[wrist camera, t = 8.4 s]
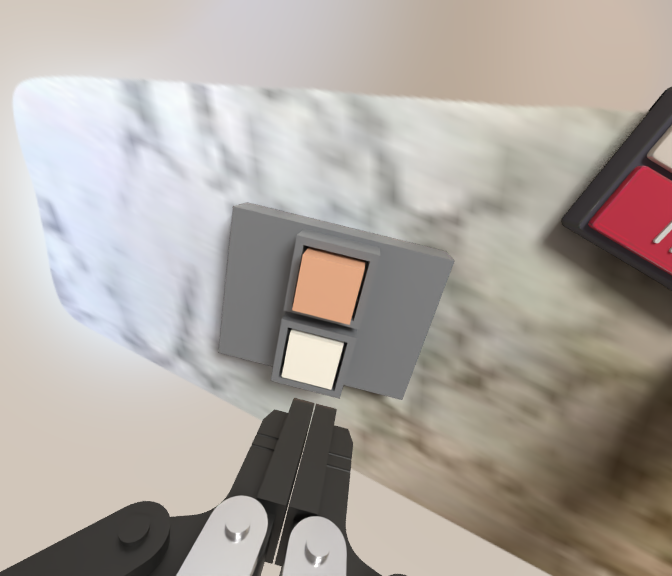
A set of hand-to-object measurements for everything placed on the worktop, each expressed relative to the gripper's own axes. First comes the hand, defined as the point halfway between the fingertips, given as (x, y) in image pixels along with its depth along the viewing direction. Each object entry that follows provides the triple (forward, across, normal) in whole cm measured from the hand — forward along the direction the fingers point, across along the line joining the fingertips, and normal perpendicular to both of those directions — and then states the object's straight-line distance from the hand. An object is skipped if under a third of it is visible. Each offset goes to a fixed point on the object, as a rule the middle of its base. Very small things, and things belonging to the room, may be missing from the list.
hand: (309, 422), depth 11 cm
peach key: (+15, +1, 0) cm, 15 cm away
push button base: (+20, +1, +4) cm, 20 cm away
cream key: (+16, +1, +7) cm, 18 cm away
